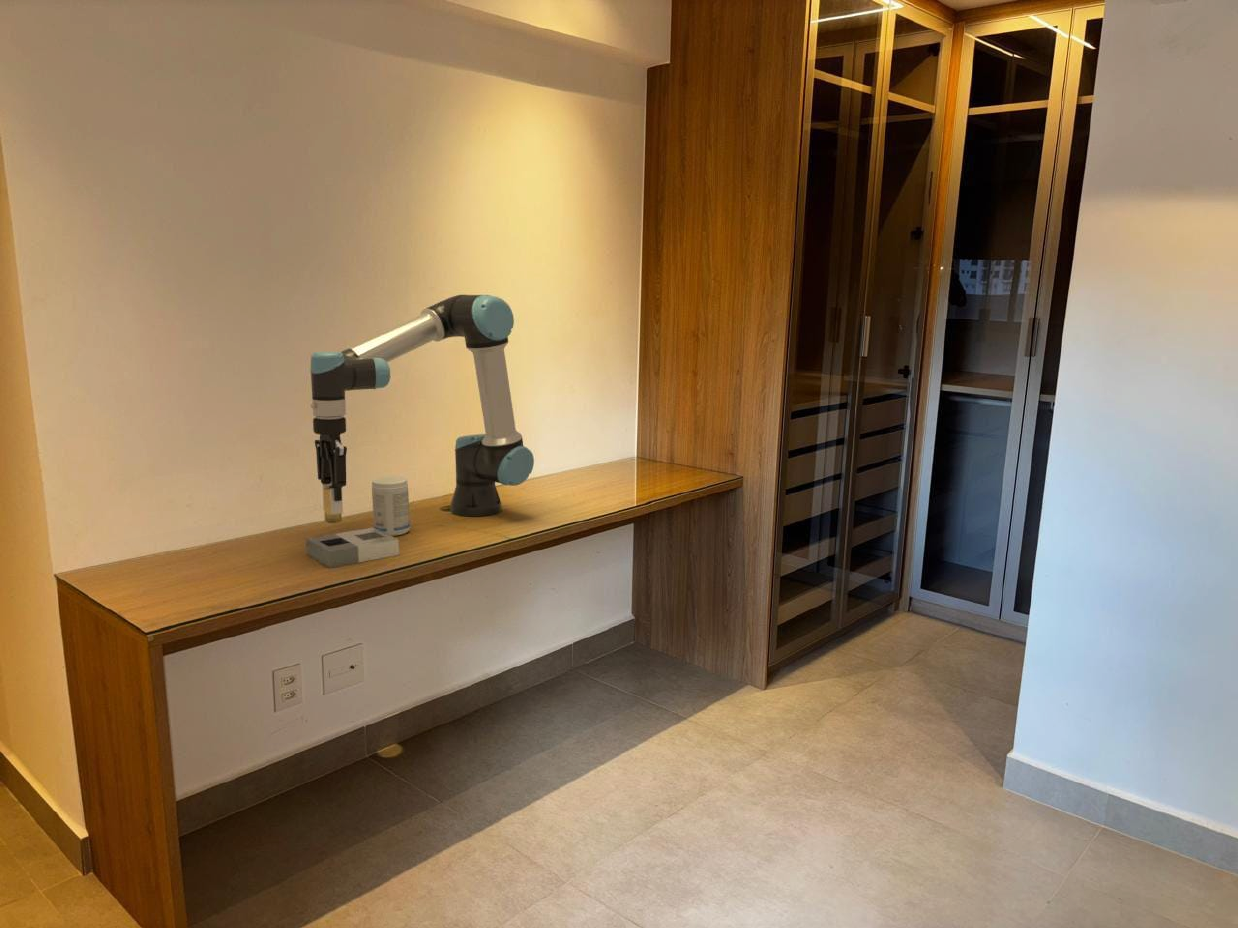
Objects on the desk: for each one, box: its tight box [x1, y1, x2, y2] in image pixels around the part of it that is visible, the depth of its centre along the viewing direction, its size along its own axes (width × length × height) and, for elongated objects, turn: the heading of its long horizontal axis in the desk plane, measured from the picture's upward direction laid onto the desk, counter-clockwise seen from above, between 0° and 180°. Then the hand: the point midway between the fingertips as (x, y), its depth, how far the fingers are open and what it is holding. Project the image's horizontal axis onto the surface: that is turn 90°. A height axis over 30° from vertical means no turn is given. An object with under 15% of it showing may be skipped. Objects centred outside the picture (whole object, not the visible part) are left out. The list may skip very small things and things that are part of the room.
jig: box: [305, 526, 400, 569], centre depth 223 cm, size 18×14×4 cm
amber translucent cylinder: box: [322, 488, 343, 524], centre depth 218 cm, size 4×4×8 cm
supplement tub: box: [371, 476, 411, 537], centre depth 243 cm, size 10×10×15 cm
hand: (333, 511), depth 218 cm, fingers closed on amber translucent cylinder, 4 cm apart
